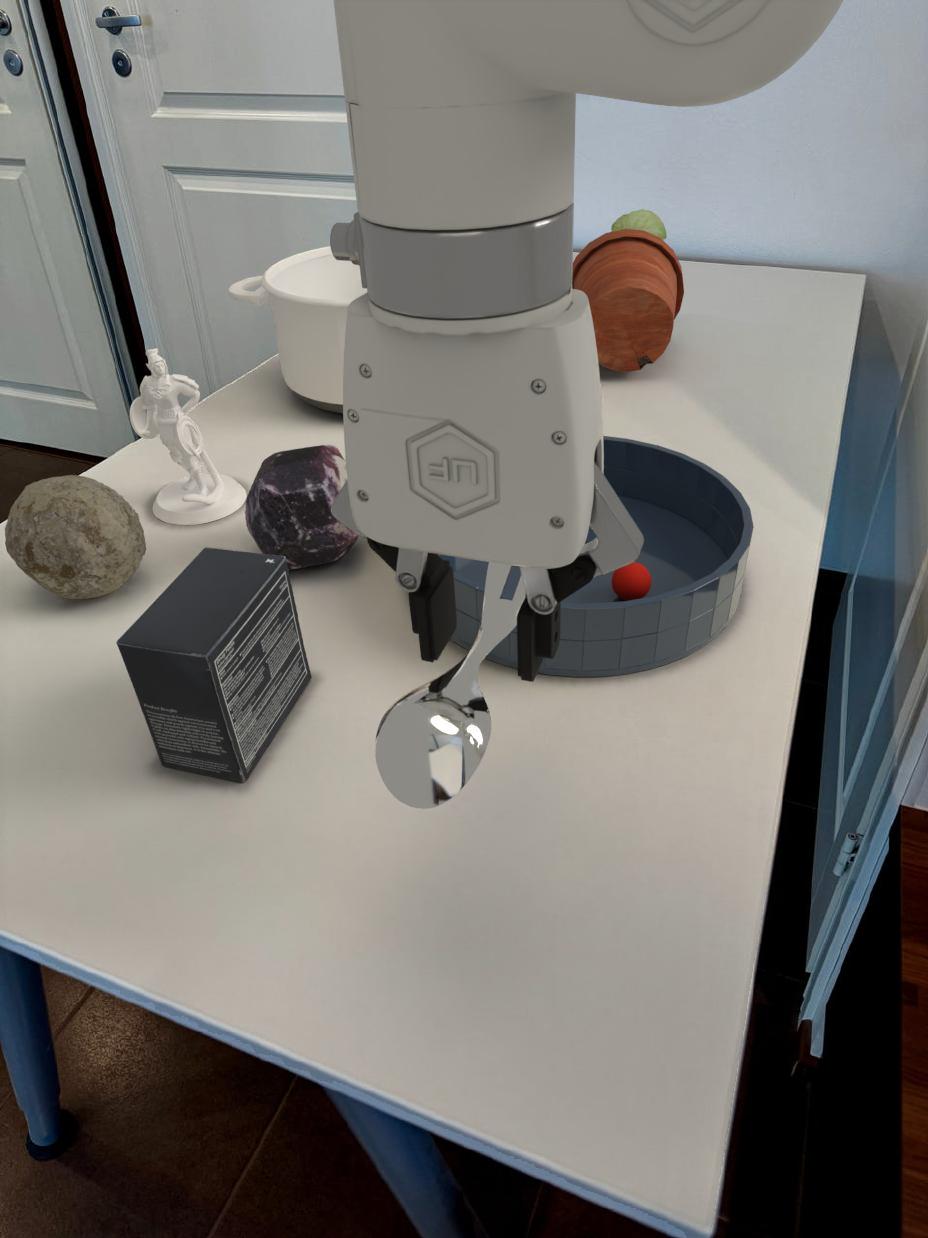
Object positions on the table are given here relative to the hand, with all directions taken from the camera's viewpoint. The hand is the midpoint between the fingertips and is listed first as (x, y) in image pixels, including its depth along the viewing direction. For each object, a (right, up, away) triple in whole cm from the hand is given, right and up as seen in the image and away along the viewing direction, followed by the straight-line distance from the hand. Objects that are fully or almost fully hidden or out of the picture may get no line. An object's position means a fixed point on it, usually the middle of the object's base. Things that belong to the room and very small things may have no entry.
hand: (486, 650), depth 42 cm
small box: (-16, -5, +17) cm, 24 cm away
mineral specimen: (-14, +7, +33) cm, 37 cm away
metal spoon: (0, 0, 0) cm, 1 cm away
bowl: (+8, +5, +30) cm, 31 cm away
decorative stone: (-32, +4, +30) cm, 44 cm away
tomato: (+12, +4, +25) cm, 28 cm away
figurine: (-26, +13, +41) cm, 51 cm away
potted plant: (+19, +39, +74) cm, 86 cm away
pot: (-11, +29, +62) cm, 69 cm away
